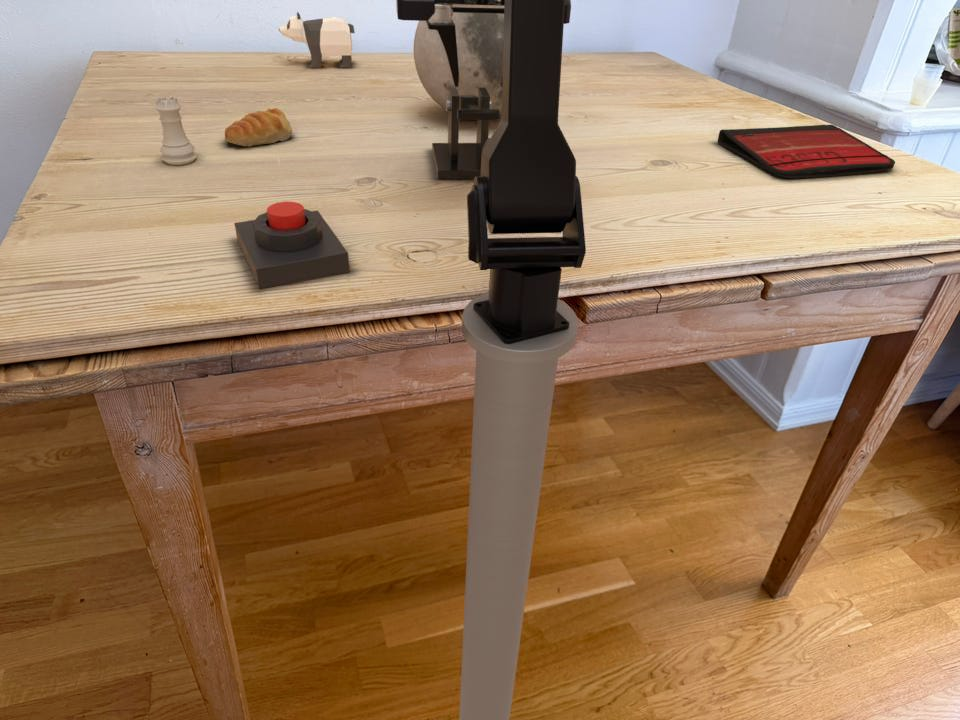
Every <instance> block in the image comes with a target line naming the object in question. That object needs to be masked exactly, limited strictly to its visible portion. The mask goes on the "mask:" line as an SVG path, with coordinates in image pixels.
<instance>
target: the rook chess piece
mask: <svg viewBox="0 0 960 720" xmlns="http://www.w3.org/2000/svg"><path fill="white" fill-rule="evenodd" d="M155 101H156V102H155V106H154V109H155V110H156V111H157V112H158V113H159V118H158V120H159V121H160V123H161V126H162V127H161V128H162V136H163V137H162V142H161V144H162V145H161V147H160V153H161V154H162V155H161V160H162V161H163V162H165V163H166V164H167V165H173V166H181V165H188V164H191V163H193V162H194V161H195V160H196V158H197V154H196V152H195V150H196V149H195V146H194V145H193V144H192V143H191V141H190V139H189V138H188V136H187V135H186V131H185V129H184V127H183V123H182V119H183V117H182V116H181V114H180V110H181V108H182V105H181V103H179V101H178V98H177V97H175V96H171V95H170V96H168V99H167V97H166V96H164V95H163V96H161V97H157V98H155Z"/></svg>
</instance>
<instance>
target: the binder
mask: <svg viewBox="0 0 960 720" xmlns="http://www.w3.org/2000/svg"><path fill="white" fill-rule="evenodd" d="M717 144H719V145H720V146H722V147H723V148H727V149H728V150H730V151H732V152H734V153H736V154H737V155H740V156H742V157H743V158H745V159H747V160H748V161H750V162H752V163H754V164H755V165H757V166H759V167H761V168H762V169H764V170H765V171H766V172H769V173H771V174H773V175H775V176H778V177H782V178H785V179H810V178H826V177H828V178H829V177H842V176H853V175H861V174H870V173H878V172H885V171H890V170H892V169H894V167H895V164H896V161H895V160H894V159H893V158H891V157H889V156H888V155H887V154H885V153H883V152H881V151H879V150H877V149H876V148H875V147H873V146H871V145H869V144H868V143H866V142H864V141H863V140H861V139H859V138H858V137H856V136H854V135H852V134H850V133H849V132H846V131H845V130H843V129H842V128H841V127H838V126H837V125H834V124H814V125H795V126H780V127H778V126H777V127H758V128H757V127H755V128H754V127H753V128H736V129H734V128H733V129H720V130H719V132H718V137H717Z"/></svg>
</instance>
